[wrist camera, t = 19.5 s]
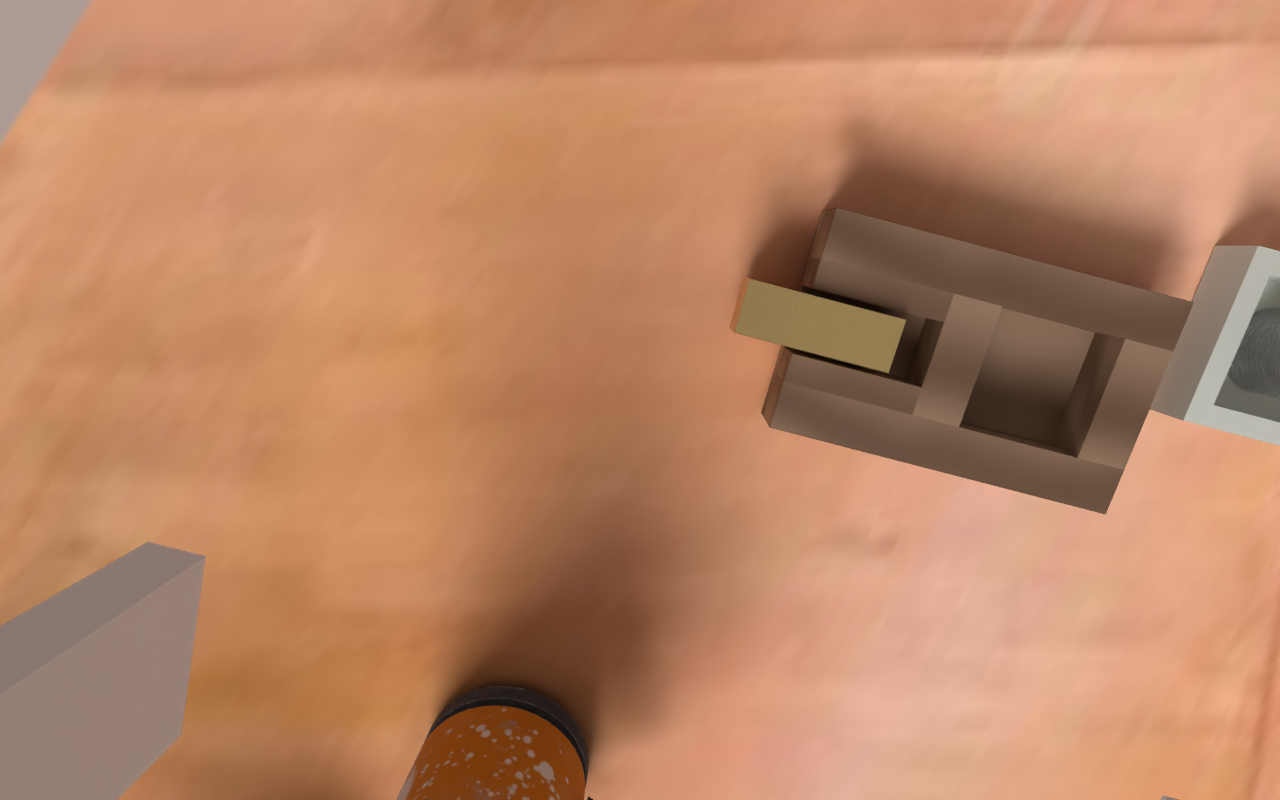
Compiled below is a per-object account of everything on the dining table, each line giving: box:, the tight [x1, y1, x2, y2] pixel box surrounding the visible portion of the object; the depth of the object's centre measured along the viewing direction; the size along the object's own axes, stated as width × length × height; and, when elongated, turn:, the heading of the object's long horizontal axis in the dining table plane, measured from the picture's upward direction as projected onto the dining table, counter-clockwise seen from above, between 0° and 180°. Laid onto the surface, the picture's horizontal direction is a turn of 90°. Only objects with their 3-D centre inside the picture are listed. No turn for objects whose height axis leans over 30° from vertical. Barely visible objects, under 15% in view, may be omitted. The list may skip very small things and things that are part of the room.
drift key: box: [730, 277, 906, 373], centre depth 33 cm, size 2×7×2 cm, turn 76°
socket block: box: [761, 208, 1194, 514], centre depth 34 cm, size 10×16×3 cm, turn 76°
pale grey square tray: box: [1150, 245, 1280, 446], centre depth 33 cm, size 8×7×2 cm
